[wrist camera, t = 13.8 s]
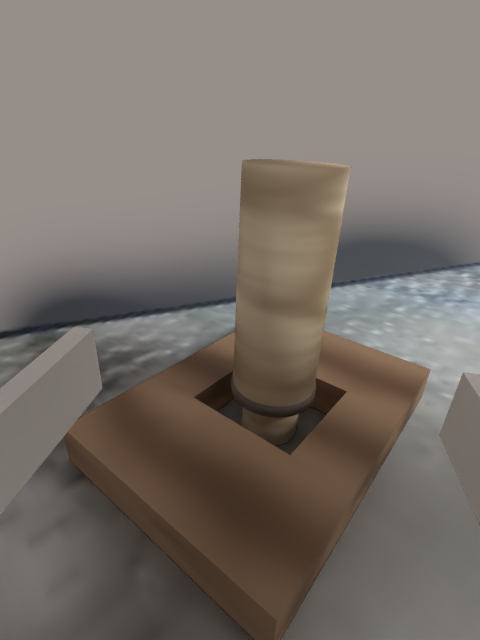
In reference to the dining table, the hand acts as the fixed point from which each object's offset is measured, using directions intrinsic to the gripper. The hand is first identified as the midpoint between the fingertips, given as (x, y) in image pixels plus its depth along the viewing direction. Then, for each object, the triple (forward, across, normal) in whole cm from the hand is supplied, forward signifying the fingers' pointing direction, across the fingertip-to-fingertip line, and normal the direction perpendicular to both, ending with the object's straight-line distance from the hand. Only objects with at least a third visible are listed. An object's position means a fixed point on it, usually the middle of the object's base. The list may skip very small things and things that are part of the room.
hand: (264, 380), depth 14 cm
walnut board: (+8, 0, -9) cm, 12 cm away
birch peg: (+8, 0, -9) cm, 12 cm away
